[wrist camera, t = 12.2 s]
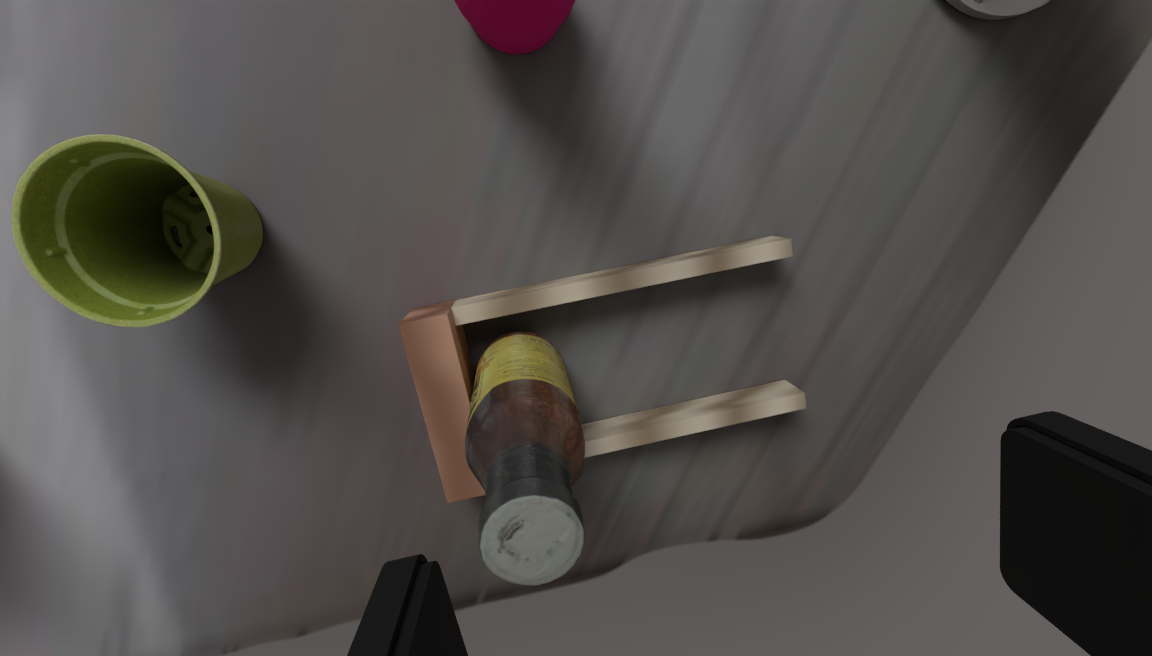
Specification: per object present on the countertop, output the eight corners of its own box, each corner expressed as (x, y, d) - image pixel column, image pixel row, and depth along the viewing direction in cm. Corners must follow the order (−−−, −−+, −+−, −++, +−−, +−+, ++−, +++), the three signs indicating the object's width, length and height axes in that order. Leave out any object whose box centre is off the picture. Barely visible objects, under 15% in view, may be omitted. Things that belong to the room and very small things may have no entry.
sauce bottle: (464, 346, 38) (408, 490, 19) (546, 315, 38) (574, 426, 19) (499, 425, 40) (480, 632, 20) (577, 394, 40) (632, 572, 21)
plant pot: (110, 170, 33) (-28, 159, 25) (260, 137, 34) (175, 114, 25) (170, 313, 36) (63, 346, 27) (311, 280, 36) (248, 303, 28)
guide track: (770, 236, 39) (806, 240, 34) (786, 393, 42) (821, 418, 37) (413, 308, 37) (398, 324, 32) (456, 467, 40) (447, 503, 35)
